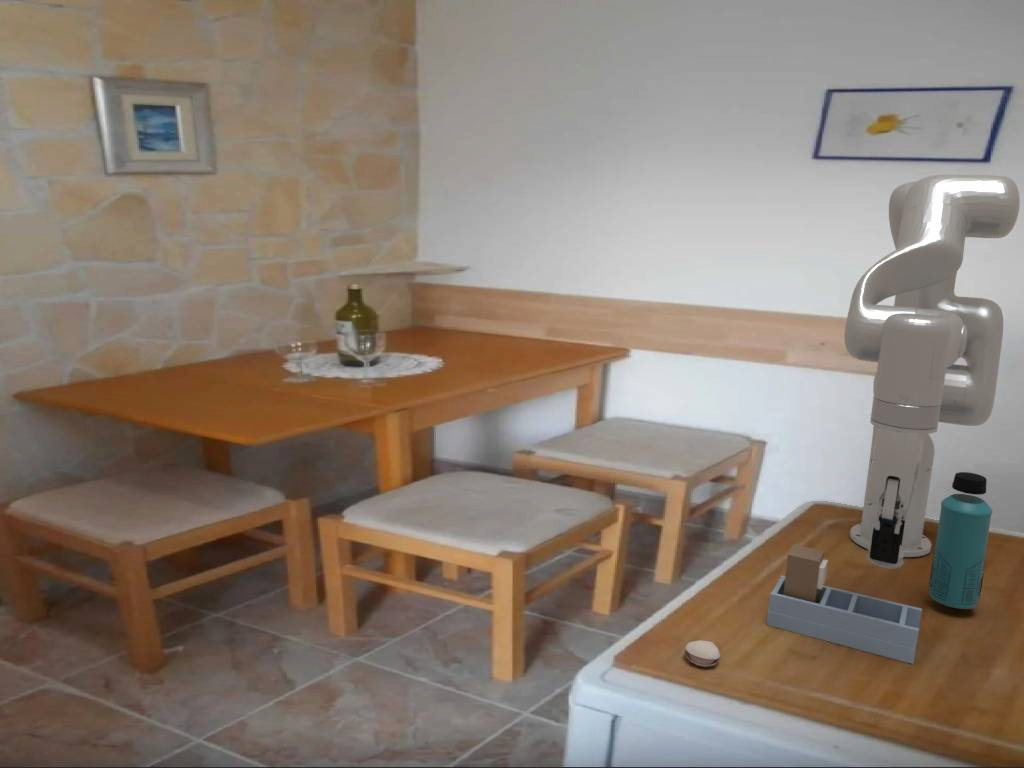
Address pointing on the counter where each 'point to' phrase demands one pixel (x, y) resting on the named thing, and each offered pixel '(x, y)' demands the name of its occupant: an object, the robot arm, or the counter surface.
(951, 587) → the beverage bottle
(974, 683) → the counter surface
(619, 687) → the counter surface
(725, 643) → the counter surface
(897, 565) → the rook chess piece
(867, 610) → the blue-grey divided tray
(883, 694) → the counter surface
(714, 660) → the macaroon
